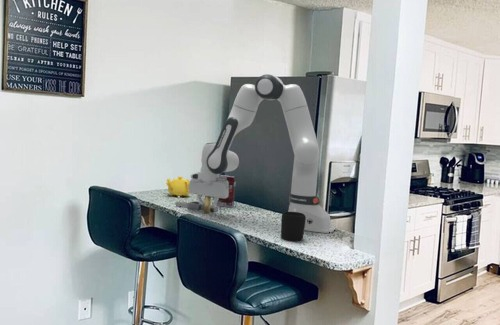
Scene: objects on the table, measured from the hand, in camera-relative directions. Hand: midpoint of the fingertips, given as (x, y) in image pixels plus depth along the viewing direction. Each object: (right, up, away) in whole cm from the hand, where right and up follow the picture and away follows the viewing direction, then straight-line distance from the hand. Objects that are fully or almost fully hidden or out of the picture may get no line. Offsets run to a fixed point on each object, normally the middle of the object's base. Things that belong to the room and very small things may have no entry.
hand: (207, 205), depth 234 cm
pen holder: (+37, -10, -40) cm, 55 cm away
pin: (0, -4, 0) cm, 4 cm away
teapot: (-21, +1, +44) cm, 49 cm away
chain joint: (-6, -3, +9) cm, 11 cm away
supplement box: (+7, -3, +23) cm, 24 cm away
